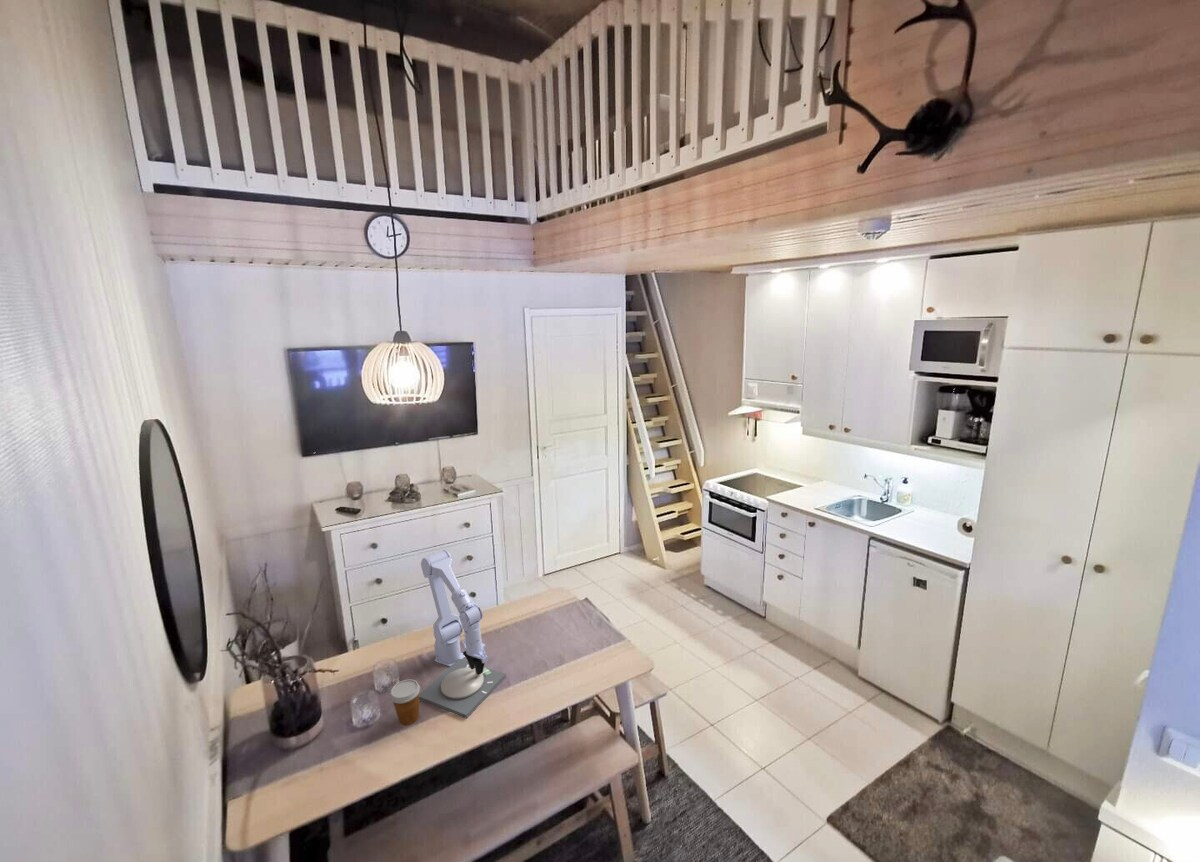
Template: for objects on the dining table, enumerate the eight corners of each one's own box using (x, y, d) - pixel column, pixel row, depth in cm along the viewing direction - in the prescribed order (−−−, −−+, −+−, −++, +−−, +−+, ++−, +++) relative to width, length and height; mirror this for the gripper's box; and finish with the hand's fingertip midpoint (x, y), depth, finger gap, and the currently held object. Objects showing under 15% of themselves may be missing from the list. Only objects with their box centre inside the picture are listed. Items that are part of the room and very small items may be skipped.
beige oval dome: (448, 705, 182) (446, 690, 181) (435, 680, 195) (434, 666, 193) (497, 684, 191) (495, 669, 190) (482, 661, 204) (480, 648, 202)
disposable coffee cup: (396, 734, 173) (391, 702, 170) (392, 714, 181) (387, 684, 179) (426, 722, 177) (422, 691, 175) (421, 704, 186) (417, 674, 183)
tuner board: (417, 699, 188) (417, 695, 188) (459, 661, 207) (459, 657, 207) (466, 718, 178) (466, 714, 178) (506, 677, 197) (505, 673, 197)
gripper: (493, 641, 190) (497, 674, 193) (472, 625, 200) (476, 656, 204) (476, 650, 185) (480, 684, 189) (455, 633, 196) (459, 665, 199)
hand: (476, 670), depth 196 cm, fingers open, 4 cm apart
